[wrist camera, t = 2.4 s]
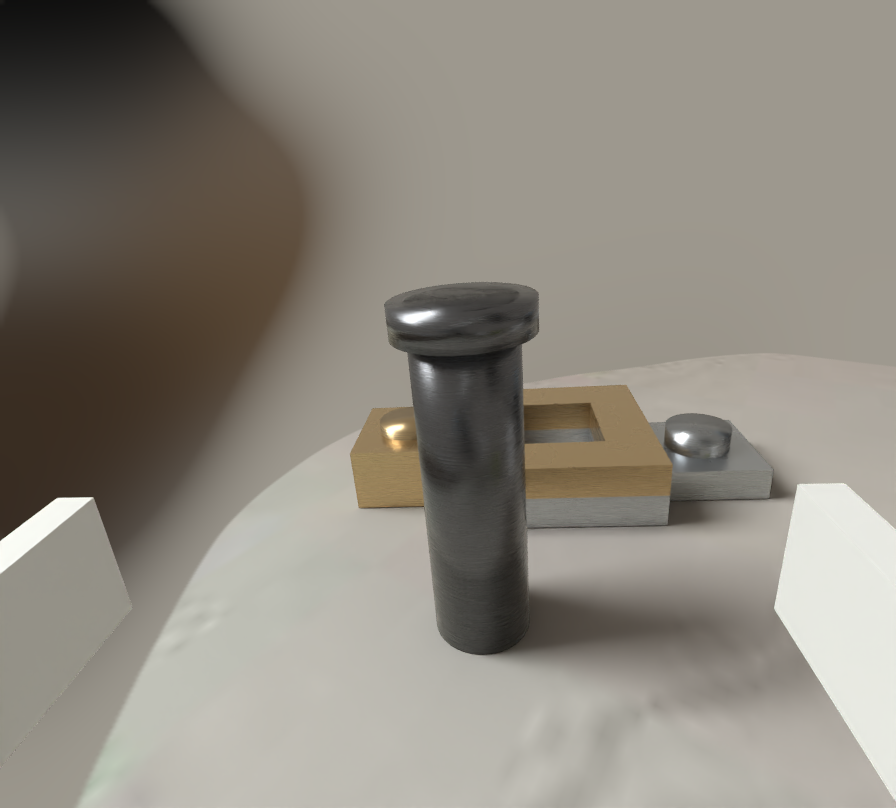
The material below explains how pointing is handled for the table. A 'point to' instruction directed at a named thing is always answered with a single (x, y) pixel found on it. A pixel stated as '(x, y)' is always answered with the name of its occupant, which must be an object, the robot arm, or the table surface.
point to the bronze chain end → (530, 450)
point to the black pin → (471, 451)
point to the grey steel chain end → (693, 475)
